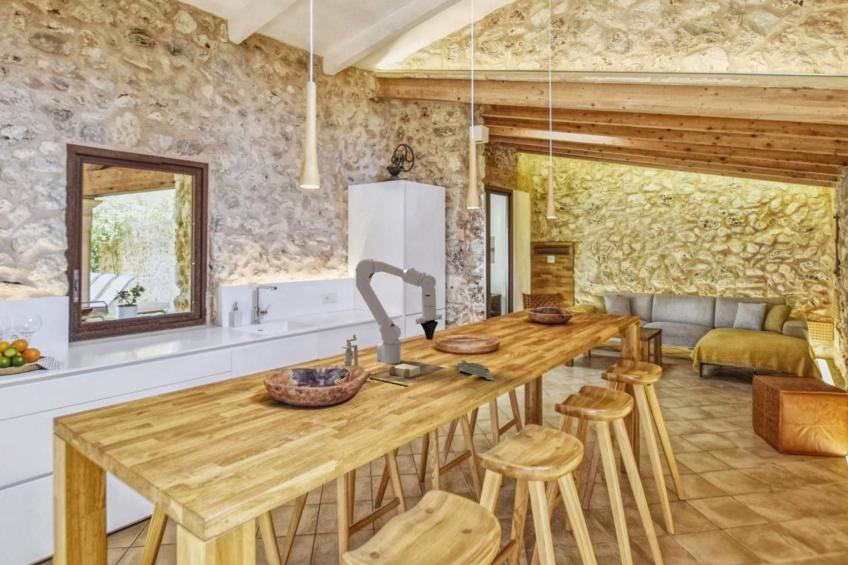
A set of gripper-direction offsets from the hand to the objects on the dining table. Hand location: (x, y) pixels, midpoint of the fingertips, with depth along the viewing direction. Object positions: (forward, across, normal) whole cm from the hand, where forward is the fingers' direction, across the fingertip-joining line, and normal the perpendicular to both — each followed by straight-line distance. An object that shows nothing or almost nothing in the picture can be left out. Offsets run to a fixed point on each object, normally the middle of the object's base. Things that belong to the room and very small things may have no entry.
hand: (429, 339), depth 193 cm
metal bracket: (+11, -2, -22) cm, 25 cm away
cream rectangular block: (+9, -19, -4) cm, 21 cm away
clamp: (+10, -30, +15) cm, 35 cm away
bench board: (+10, -16, -2) cm, 19 cm away
